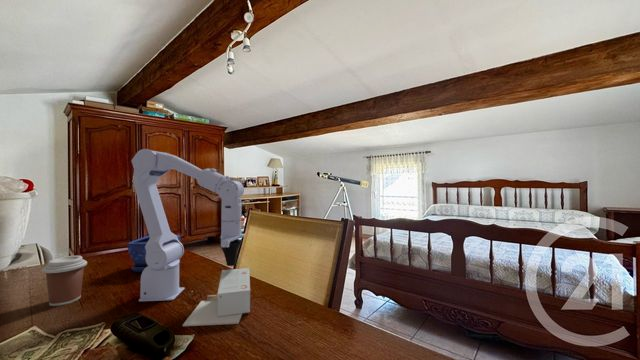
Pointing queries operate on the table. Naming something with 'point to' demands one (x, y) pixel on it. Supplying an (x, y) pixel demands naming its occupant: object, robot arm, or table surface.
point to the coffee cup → (64, 279)
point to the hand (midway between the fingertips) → (231, 265)
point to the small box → (234, 292)
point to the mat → (210, 315)
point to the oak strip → (211, 297)
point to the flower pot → (138, 258)
